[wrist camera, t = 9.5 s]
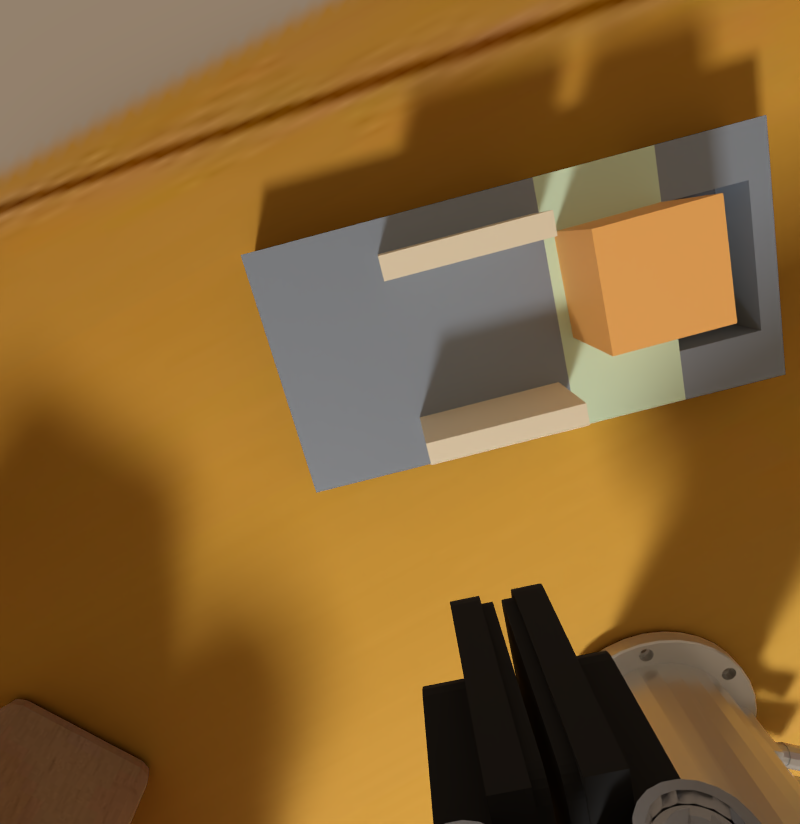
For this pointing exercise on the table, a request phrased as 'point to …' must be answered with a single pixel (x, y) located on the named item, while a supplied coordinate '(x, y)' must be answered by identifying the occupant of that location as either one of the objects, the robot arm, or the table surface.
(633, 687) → the robot arm
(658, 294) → the cube
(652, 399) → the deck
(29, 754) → the wooden block
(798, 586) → the table surface
